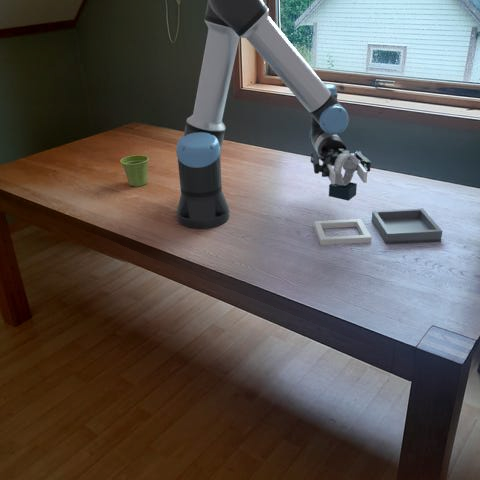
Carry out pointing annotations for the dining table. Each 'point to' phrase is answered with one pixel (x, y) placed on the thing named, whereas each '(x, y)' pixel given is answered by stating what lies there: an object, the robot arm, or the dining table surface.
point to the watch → (344, 177)
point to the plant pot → (136, 169)
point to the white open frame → (324, 240)
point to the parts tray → (406, 226)
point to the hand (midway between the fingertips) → (349, 178)
